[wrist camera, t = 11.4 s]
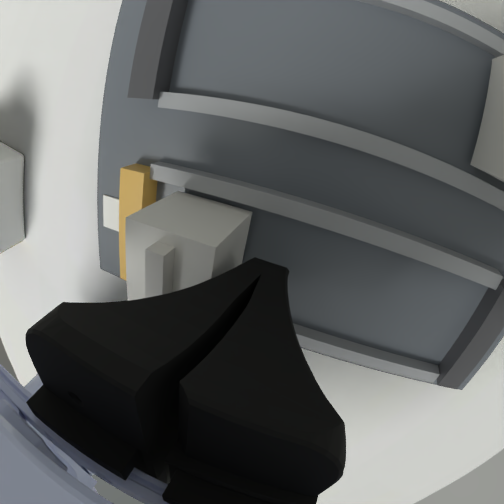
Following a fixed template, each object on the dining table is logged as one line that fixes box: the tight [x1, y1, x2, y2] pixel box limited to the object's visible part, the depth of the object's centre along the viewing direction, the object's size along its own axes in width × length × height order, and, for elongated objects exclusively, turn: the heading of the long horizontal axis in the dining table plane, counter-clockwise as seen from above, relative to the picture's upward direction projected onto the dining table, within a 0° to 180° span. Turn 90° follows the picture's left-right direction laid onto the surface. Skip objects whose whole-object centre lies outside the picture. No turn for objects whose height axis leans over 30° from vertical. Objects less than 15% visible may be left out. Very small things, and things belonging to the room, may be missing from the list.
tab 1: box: [125, 191, 252, 301], centre depth 10 cm, size 4×3×4 cm
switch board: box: [97, 0, 504, 390], centre depth 10 cm, size 15×20×2 cm
